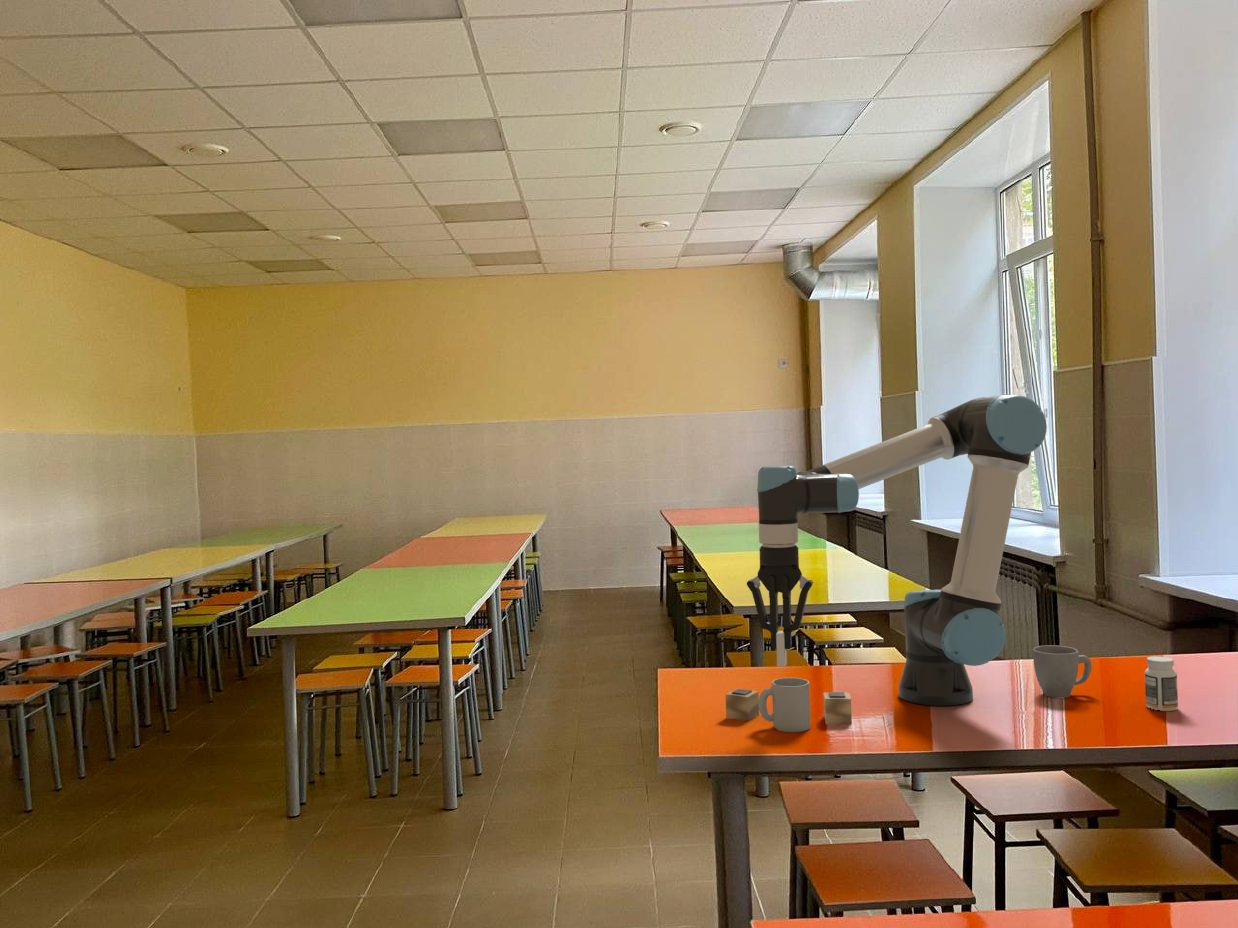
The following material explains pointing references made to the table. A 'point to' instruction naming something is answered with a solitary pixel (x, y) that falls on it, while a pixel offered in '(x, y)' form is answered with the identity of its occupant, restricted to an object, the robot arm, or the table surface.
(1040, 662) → the mug
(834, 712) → the oak block
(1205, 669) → the table surface
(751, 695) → the oak block
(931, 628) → the robot arm
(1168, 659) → the pill bottle
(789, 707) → the cup
